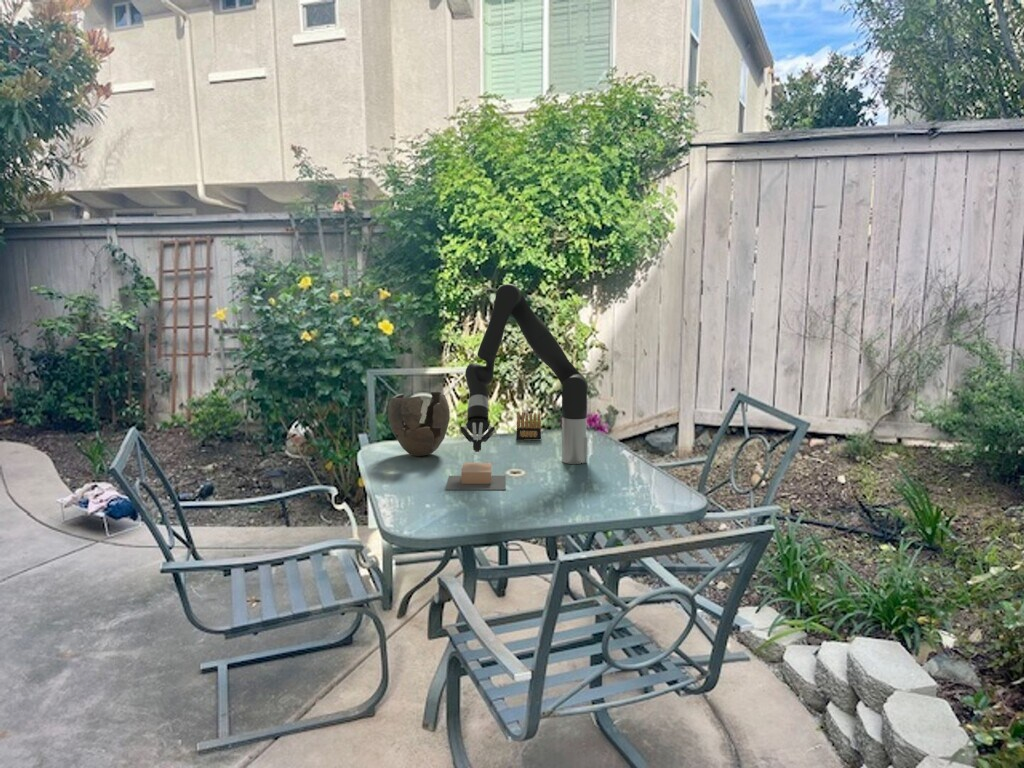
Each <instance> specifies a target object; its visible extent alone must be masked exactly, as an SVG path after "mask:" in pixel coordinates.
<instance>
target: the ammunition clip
mask: <svg viewBox="0 0 1024 768" xmlns="http://www.w3.org/2000/svg"><path fill="white" fill-rule="evenodd" d="M525 413H526V414H524V412H521V415H520V412H519V411H518V413H517V415H516V438H515V439H516V441H519V440H520V441H522V440H523V441H525V440H524V439H541V440H542V429H541V428H542V421H541V413H540V412H538V414H537V413H536V412H534V414H533V413H532V412H529V413H528V412H525Z"/></svg>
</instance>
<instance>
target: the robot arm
mask: <svg viewBox="0 0 1024 768" xmlns="http://www.w3.org/2000/svg"><path fill="white" fill-rule="evenodd" d="M494 299H495V300H494V303H493V309H492V313H491V316H490V319H489V322H488V324H487V327H486V329H485V332H484V335H483V338H482V340H481V342H480V345H479V348H478V350H477V358H479V359H481V360H483V361H485V363H486V364H485V365H482V364H480V363H475V362H471V363H469V364H468V365H467V366H466V368H465V372H464V374H465V380H466V383H467V386H468V391H469V392H468V393H469V394H468V395H469V398H468V399H469V400H468V402H467V403H468V405H467V421H466V423H465V425H464V426H461V427H460V433H461V434H462V435H463V437H464V438H465V439H466V440H467V441H468V442H469V443H472V449H473V451H474V453H479V452H480V451H481V450H482V443H483V442H484V443H486V442H487V441H488V440H489V439H490V438H491V437H493V435H494V434H495V432H496V429H495V426H492V425H490V422H489V410H490V408H489V407H490V406H489V388H488V387H487V386H488V385H490V383H492V381H493V380H494V379H493V378H494V370H495V369H494V368H495V363H496V357H497V354H498V352H499V350H500V347H501V344H502V340H503V336H504V332H505V329H506V325H507V322H508V321H509V318H510V316H512V318H513V319H514V321H516V324H517V325H518V326H519V329H520V330H521V333H522V334H523V335H522V336H523V337H524V338H525V340H526V342H527V344H528V345H529V346H530V348H531V349H532V351H533V352H534V353H535V354H536V355H537V357H538V358H539V359H540V360H541V361H542V362H543V363H544V364H545V365H546V366H547V367H548V368H549V369H550V370H551V371H552V372H553V373H554V374H555V377H556V378H557V379H558V381H559V382H560V384H561V411H562V412H561V413H562V415H561V416H562V417H561V418H562V421H561V462H562V463H564V464H569V465H581V463H582V464H587V462H588V461H587V460H588V458H587V457H588V437H587V421H588V419H587V417H588V415H587V414H588V411H587V410H588V408H587V407H588V406H587V405H588V404H587V403H588V382H587V380H586V378H585V376H583V375H582V374H581V372H579V370H578V369H577V368H576V367H575V366H574V365H573V364H572V363H571V362H570V360H569V359H568V356H567V355H566V354H565V352H564V350H563V349H562V347H561V346H560V344H559V342H558V341H557V339H556V338H555V336H554V335H553V333H551V331H550V329H549V328H548V327H547V326H546V325H545V323H544V322H543V321H542V319H540V318H539V316H537V314H536V313H535V312H534V311H533V310H532V308H531V307H530V305H529V304H528V302H527V300H526V298H525V297H524V295H523V293H522V291H521V289H520V288H519V287H518V286H517V285H515V284H512V283H506V284H502V285H500V286H499V287H498V288H497V289H496V293H495V298H494ZM471 434H472V435H471ZM477 435H478V436H477Z"/></svg>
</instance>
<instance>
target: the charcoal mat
mask: <svg viewBox="0 0 1024 768" xmlns="http://www.w3.org/2000/svg"><path fill="white" fill-rule="evenodd" d="M506 477H507V476H506V475H491V484H461V475H448V477H447V478H448V479H447V482H446V484H445V487H444V488H445V489H444V491H506V489H507V488H506V486H507V485H506V484H507V483H506V480H507V479H506Z"/></svg>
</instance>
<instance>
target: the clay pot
mask: <svg viewBox="0 0 1024 768" xmlns="http://www.w3.org/2000/svg"><path fill="white" fill-rule="evenodd" d="M430 395H431V399H430V403H429V404H428V406H427V407H426V413H425V415H426V416H425V419H424V421H423V422H421V418H422V416H423V414H422V412H421V411H422V406H423V404H424V399H422V397H421V396H411V397H410V396H409V397H404V396H405V395H404V393H398V394H396V395H394V396H392V397H391V398H390V401H389V403H388V411H387V413H388V414H387V418H388V423H389V426H390V429H391V432H392V434H393V435H394V437H395V440H396V441H397V442H398V443H399V445H400V446H401V448H402V449H403V450H404V451H405V452H406V453H408V454H409V455H411V456H414V457H423V456H427V455H431V454H432V453H434V452H435V451H437V449H439V447H440V446H441V444H442V442H443V441H444V439H445V437H446V434H447V431H448V428H449V423H450V418H451V417H450V415H451V412H450V406H449V403H448V399H447V398H446V395H445V394H444V392H442V391H430Z"/></svg>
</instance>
